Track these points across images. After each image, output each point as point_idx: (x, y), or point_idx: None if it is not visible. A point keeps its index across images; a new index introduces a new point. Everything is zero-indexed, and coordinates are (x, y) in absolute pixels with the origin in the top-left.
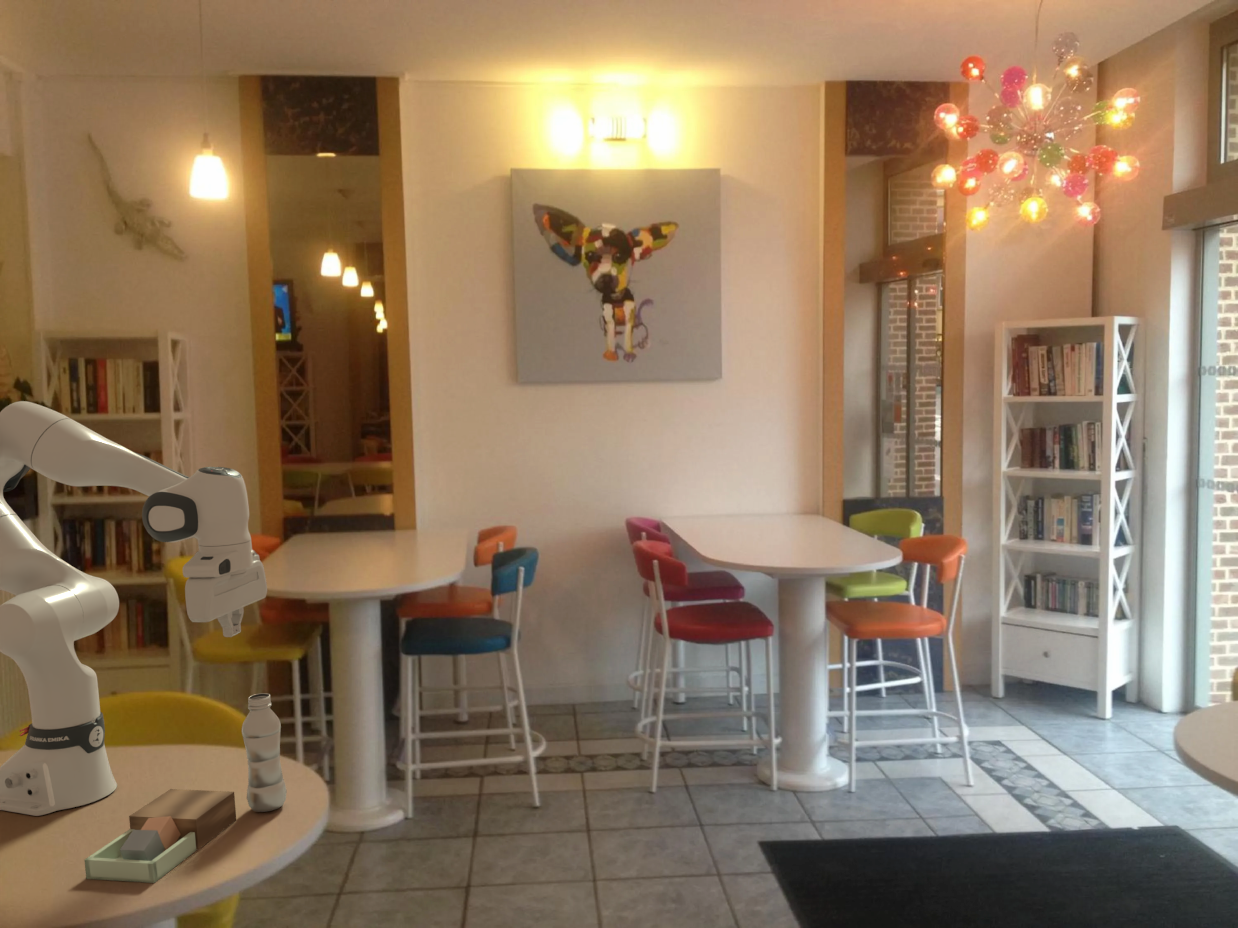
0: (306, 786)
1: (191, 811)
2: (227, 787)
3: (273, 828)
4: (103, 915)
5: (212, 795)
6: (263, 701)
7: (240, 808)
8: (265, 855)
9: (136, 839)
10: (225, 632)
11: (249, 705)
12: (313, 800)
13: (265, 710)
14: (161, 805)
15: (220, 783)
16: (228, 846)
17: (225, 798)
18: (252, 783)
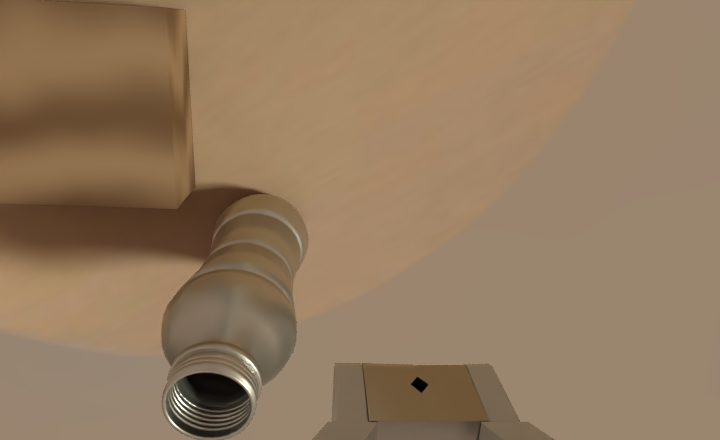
0: (392, 254)
1: (36, 164)
2: (381, 57)
3: (170, 286)
4: None
5: (143, 164)
6: (186, 425)
7: (258, 162)
8: (53, 327)
9: None
10: (333, 405)
11: (175, 367)
12: (317, 302)
13: (203, 398)
14: (48, 53)
15: (408, 20)
16: (70, 237)
17: (135, 207)
18: (212, 243)
